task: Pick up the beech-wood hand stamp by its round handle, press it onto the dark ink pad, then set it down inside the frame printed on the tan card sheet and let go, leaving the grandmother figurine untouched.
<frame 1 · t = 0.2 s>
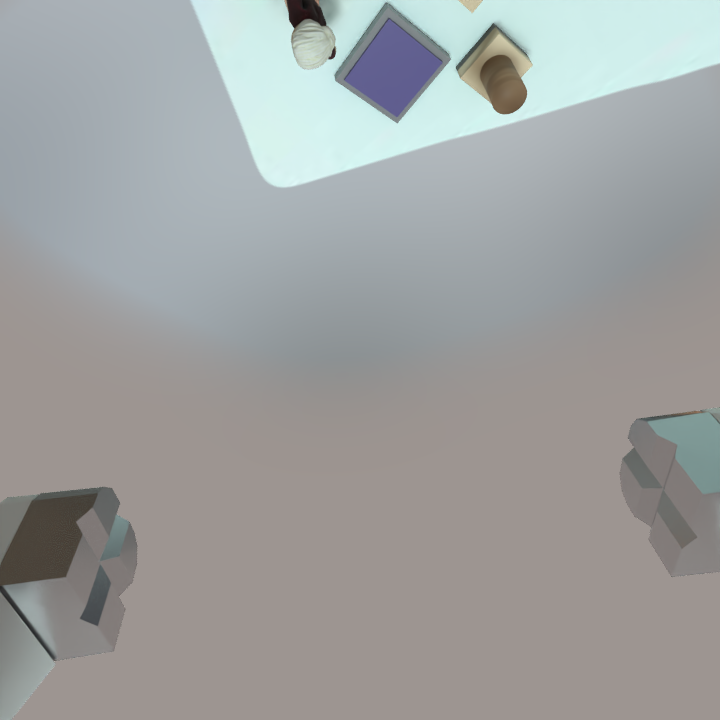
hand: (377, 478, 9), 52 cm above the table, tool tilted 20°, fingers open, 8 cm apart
ink pad: (391, 64, 56), on the table
stamp: (491, 60, 57), on the table
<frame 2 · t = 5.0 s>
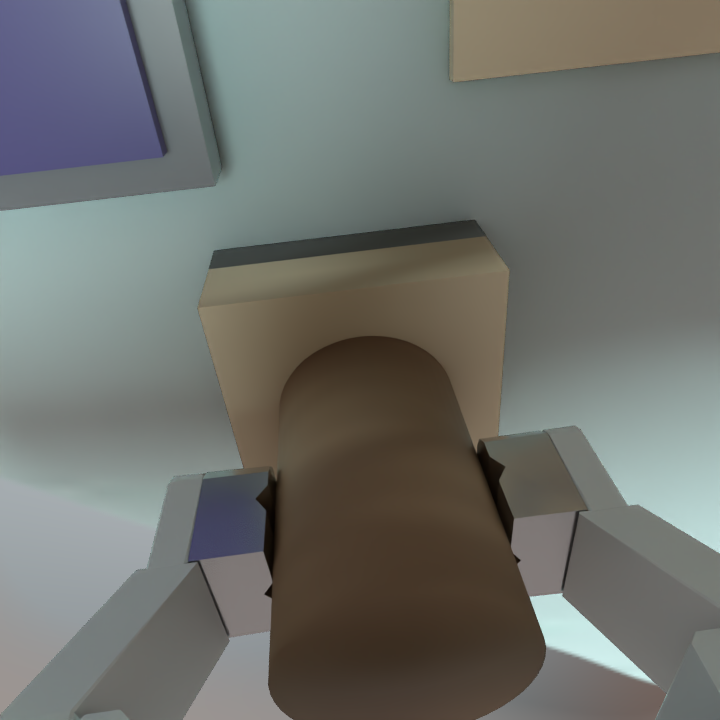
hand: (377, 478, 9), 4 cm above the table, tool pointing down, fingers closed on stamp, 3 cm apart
stamp: (357, 344, 12), on the table, touching gripper
when the fingers open (5 cm above the table, at t = 15.0 s): stamp stays where it is, resting on card sheet.
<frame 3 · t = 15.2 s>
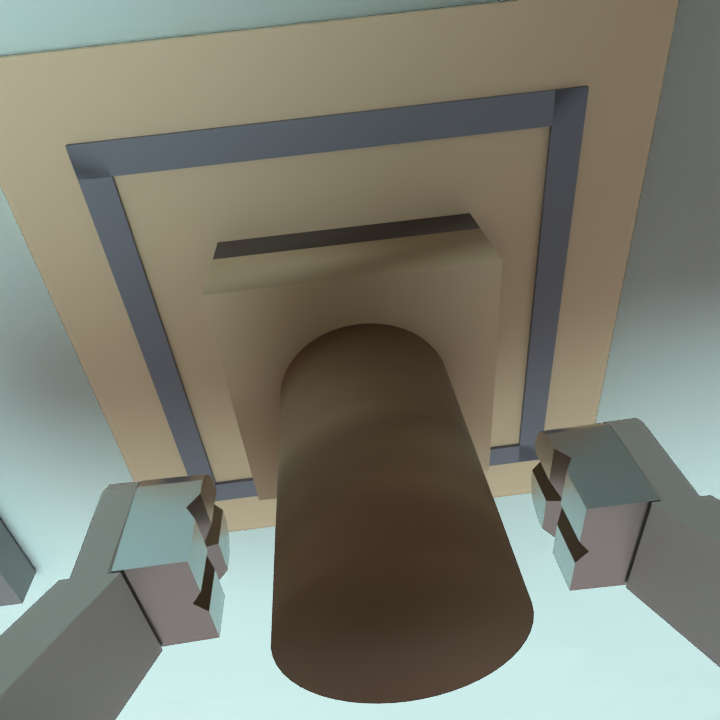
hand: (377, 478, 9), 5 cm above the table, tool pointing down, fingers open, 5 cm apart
card sheet: (352, 327, 13), on the table
stamp: (355, 334, 13), resting on card sheet
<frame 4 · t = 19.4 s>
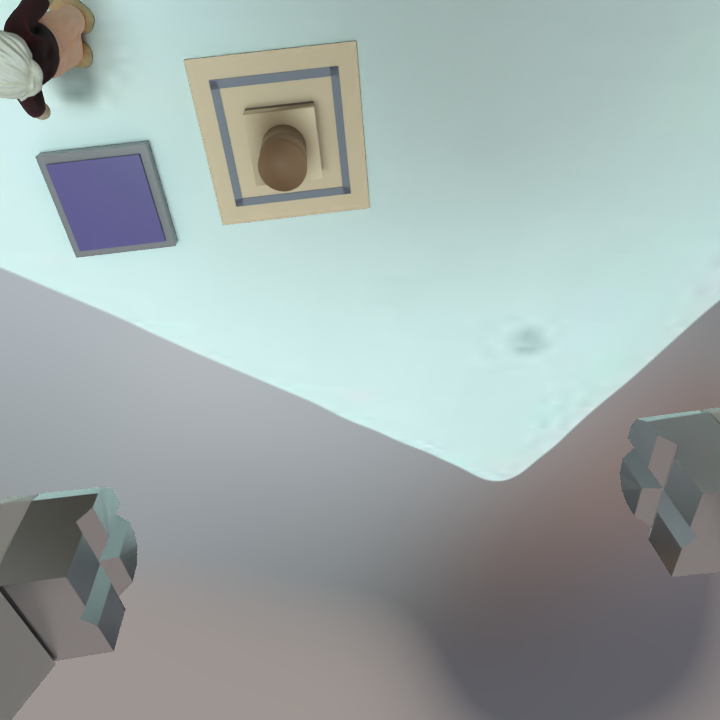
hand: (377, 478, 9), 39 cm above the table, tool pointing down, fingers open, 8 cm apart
card sheet: (284, 139, 43), on the table
ink pad: (112, 199, 45), on the table
stamp: (284, 140, 43), resting on card sheet
grandmother figurine: (71, 40, 39), on the table
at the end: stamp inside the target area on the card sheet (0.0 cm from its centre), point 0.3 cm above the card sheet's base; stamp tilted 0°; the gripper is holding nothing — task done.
